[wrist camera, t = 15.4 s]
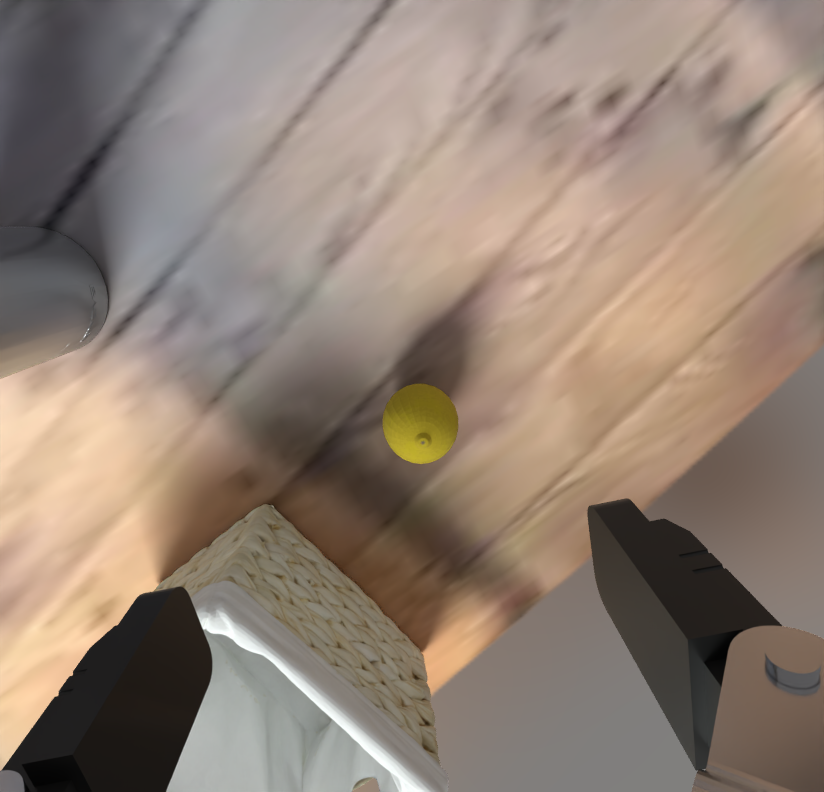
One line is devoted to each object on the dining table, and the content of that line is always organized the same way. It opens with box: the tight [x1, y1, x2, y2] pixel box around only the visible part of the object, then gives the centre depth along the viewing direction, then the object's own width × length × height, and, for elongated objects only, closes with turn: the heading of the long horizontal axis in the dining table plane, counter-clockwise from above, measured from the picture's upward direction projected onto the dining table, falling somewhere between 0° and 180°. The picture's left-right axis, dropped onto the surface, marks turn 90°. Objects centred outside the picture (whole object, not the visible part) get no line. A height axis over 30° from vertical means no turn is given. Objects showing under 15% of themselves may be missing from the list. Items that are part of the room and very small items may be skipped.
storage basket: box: [154, 504, 448, 792], centre depth 42 cm, size 24×16×15 cm
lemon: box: [383, 384, 458, 464], centre depth 40 cm, size 6×6×8 cm
